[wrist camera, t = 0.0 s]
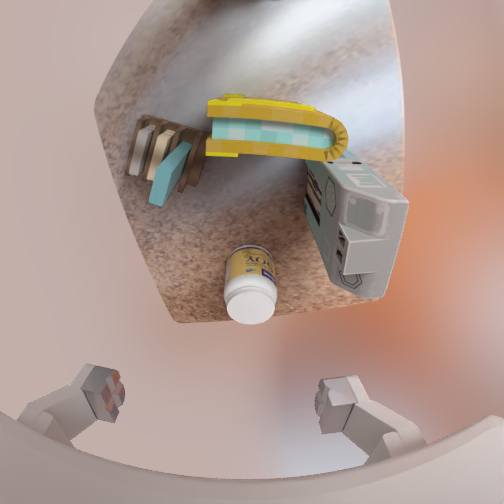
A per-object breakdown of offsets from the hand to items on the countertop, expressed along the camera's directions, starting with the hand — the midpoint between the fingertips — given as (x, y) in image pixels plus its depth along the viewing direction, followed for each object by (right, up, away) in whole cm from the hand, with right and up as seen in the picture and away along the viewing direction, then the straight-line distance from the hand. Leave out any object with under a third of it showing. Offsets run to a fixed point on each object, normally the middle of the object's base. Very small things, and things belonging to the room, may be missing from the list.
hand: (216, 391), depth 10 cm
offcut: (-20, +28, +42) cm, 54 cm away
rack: (-16, +27, +44) cm, 54 cm away
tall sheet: (-13, +25, +44) cm, 52 cm away
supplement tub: (+1, +3, +62) cm, 62 cm away
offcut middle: (-17, +27, +43) cm, 53 cm away
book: (+4, +34, +40) cm, 53 cm away
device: (+17, +22, +49) cm, 56 cm away
